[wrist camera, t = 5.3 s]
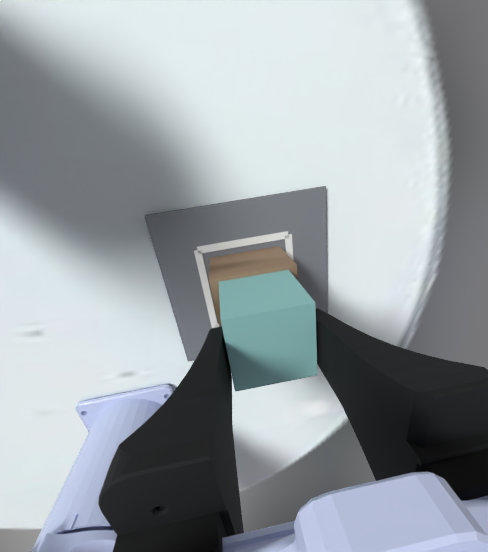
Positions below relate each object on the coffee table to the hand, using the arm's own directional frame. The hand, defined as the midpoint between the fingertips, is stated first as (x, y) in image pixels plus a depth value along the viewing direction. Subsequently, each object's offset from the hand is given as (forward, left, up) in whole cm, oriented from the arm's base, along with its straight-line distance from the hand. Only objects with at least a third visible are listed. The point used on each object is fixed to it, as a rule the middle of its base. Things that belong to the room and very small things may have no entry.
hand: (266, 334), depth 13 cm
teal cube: (0, 0, -2) cm, 2 cm away
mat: (0, 0, -7) cm, 7 cm away
